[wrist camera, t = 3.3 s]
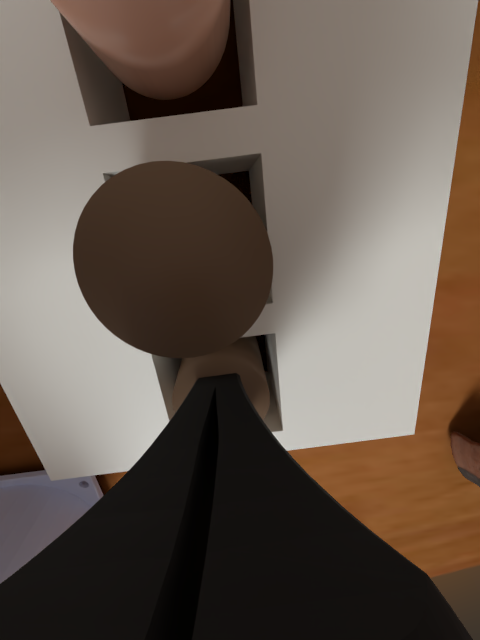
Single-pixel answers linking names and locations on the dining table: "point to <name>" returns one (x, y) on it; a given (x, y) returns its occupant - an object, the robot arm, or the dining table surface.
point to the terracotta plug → (154, 40)
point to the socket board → (267, 198)
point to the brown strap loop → (466, 456)
